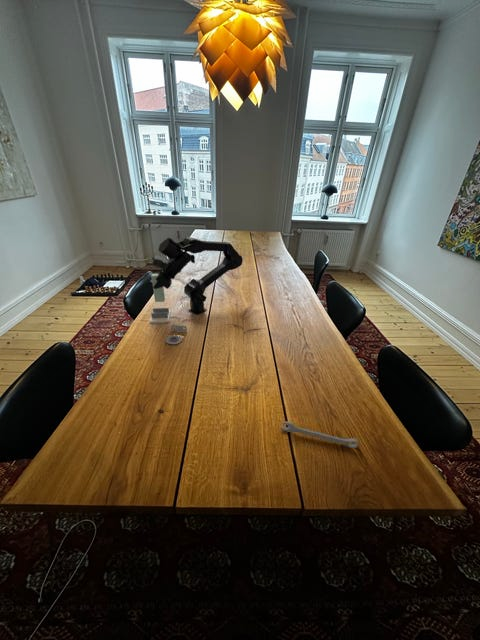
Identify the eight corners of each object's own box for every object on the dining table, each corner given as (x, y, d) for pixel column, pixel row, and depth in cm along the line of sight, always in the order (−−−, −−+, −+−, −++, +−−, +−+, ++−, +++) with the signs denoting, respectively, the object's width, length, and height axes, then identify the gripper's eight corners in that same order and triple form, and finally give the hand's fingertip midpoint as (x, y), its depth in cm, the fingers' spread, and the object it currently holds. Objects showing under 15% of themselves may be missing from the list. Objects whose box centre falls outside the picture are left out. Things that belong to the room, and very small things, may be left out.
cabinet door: (165, 299, 118) (161, 273, 112) (164, 301, 116) (160, 275, 110) (154, 299, 118) (150, 273, 112) (152, 301, 116) (148, 275, 110)
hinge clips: (170, 311, 123) (170, 305, 121) (168, 322, 115) (167, 315, 113) (153, 312, 122) (152, 305, 120) (150, 323, 113) (149, 316, 112)
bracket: (163, 345, 101) (162, 337, 99) (171, 331, 109) (171, 324, 107) (179, 346, 100) (178, 339, 98) (187, 332, 109) (186, 325, 107)
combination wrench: (360, 438, 64) (281, 417, 68) (360, 442, 63) (280, 421, 67) (355, 446, 66) (279, 426, 70) (356, 451, 65) (278, 430, 69)
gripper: (166, 244, 114) (145, 267, 118) (158, 256, 98) (133, 283, 102) (186, 261, 118) (164, 283, 123) (180, 276, 102) (156, 300, 107)
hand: (154, 287), depth 114 cm, fingers closed on cabinet door, 2 cm apart
